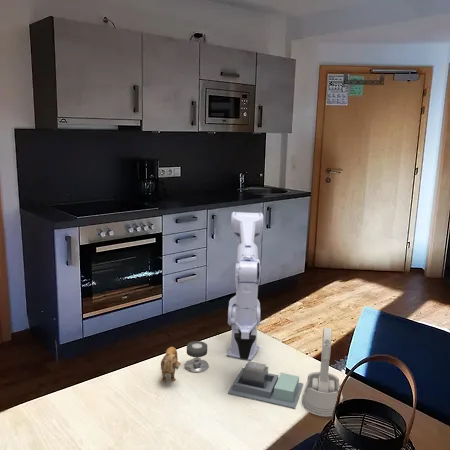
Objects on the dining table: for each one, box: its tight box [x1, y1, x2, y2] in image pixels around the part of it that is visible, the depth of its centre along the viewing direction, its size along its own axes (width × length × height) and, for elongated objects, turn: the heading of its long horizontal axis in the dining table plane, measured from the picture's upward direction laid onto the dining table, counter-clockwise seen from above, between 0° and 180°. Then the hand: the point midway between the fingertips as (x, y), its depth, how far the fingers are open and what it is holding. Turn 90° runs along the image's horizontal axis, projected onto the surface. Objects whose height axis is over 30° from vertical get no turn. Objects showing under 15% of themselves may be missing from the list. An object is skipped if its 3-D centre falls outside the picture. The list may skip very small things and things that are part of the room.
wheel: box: [186, 340, 208, 358], centre depth 136 cm, size 6×6×2 cm
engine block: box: [242, 360, 269, 389], centre depth 127 cm, size 4×6×6 cm
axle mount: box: [184, 357, 210, 374], centre depth 137 cm, size 7×7×2 cm
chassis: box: [227, 367, 304, 410], centre depth 126 cm, size 12×18×3 cm, turn 71°
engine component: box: [301, 326, 344, 417], centre depth 119 cm, size 11×20×10 cm
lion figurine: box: [160, 346, 182, 383], centre depth 132 cm, size 15×5×9 cm, turn 9°
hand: (244, 351), depth 128 cm, fingers open, 7 cm apart
